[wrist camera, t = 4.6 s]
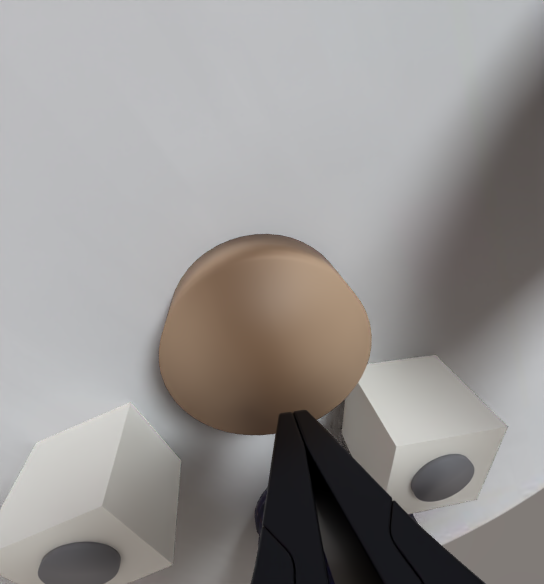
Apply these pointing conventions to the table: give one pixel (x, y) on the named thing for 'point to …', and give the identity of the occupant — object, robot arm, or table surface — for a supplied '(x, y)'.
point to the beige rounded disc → (262, 335)
